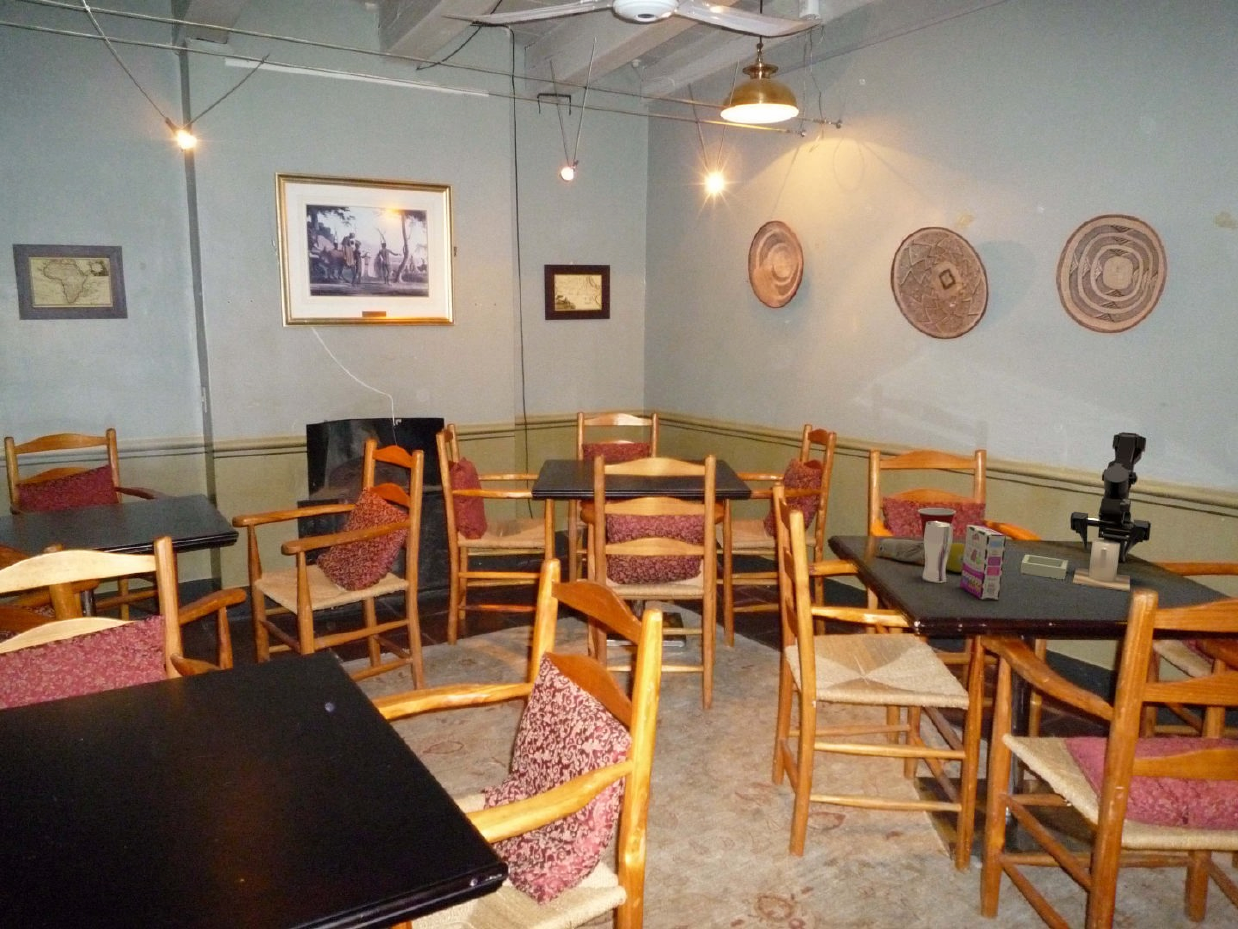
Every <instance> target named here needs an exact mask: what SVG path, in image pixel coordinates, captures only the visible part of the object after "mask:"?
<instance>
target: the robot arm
mask: <svg viewBox="0 0 1238 929" xmlns="http://www.w3.org/2000/svg"><path fill="white" fill-rule="evenodd" d="M1146 446H1147V438H1146V437H1144V436H1143V435H1139V434H1137V433H1136V432H1125V431H1123V432H1118V434H1114V435H1113V440H1112V446H1111V447H1112V449H1113V450H1114V459H1113V460H1112V461H1109V462H1108V465H1107V468H1105V469H1104V470H1103V472H1102V474H1101V481H1102V482H1103V489H1104V493H1103V496H1102V497H1103V498H1101V501H1100V502H1101V503H1100V506H1099V510H1098V514H1097V515H1098V517H1099V518H1098V519H1097V518H1090V517H1089V513H1088V512H1082V511H1073V512H1072V513H1071V514H1070V519H1069V520H1070V530H1071V531H1075V533H1076V534H1079V536H1080V538H1081V541H1082V544H1083V547H1084V548H1083V549H1084V550H1087V548H1088V526H1089V527H1094V528H1098V536H1097V538H1099V539H1102V540H1110V541H1114V542H1118V543H1120V549H1119V557H1118V563H1126V557H1125V556H1127V554H1128V553H1129V552H1130V551H1131V549H1132V548H1134V546H1136V545H1137V544H1138V543H1143V542H1144V541H1146V542H1147V541H1150V537H1151V526H1152V523H1151V521H1149V520H1140V519H1133V521H1132V513H1131V505H1132V500H1131V499H1129V497H1130V491H1131V488H1132V486H1135V485H1136V483H1137V482H1138V478H1139V477H1138V476H1137V472H1134V470H1135V465H1136V464H1137V463H1139V462H1140V460H1142V456H1143V455H1142V454H1143V453H1144V452H1146V448H1147V447H1146Z"/></svg>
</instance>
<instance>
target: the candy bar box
mask: <svg viewBox="0 0 1238 929" xmlns="http://www.w3.org/2000/svg"><path fill="white" fill-rule="evenodd" d="M965 530H966V531H965V539H964V544H965V547H964V557H963V566H962V572H961V577H960V578H961V579H960V587H961V588H962V589H963V590H964V591H966V592H968V593H969V594H971V595H973V596H975V597H976V598H978V599H980V600H983V601H985V600H986V601H999V600H1000V592H1001V586H1002V585H1001V584H1002V574H1003V565H1004V558H1005V548H1006V539H1007V535H1006V534H1004V533H1001V532H999V531H996V530H994V529H992V528H990V527H988V526H985V525H980V524H979V525H975V524H974V525H972V524H971V525H970V524H967V525H966V529H965Z"/></svg>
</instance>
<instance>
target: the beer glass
mask: <svg viewBox="0 0 1238 929" xmlns="http://www.w3.org/2000/svg"><path fill="white" fill-rule="evenodd" d="M953 526H954V525H953V524H952V523H951V524H950V523H946V522H939V521H929V522H926V528H925V533H924V559H925V561H924V569H923V572H922V577H921V579H923V581H926V582H931V583H937V584H940V583H941V584H942V583H946V582H947V569H946V565H947V561H948V558H949V554H950V551H951V546H952V543H953V536H954V535H953V533H954V532H953Z"/></svg>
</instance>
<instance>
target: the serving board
mask: <svg viewBox="0 0 1238 929" xmlns="http://www.w3.org/2000/svg"><path fill="white" fill-rule="evenodd" d="M1074 571H1075V572H1074V575H1073V576H1074V577H1073V579H1072V584H1073V583H1075V584H1074V585H1078V584H1081V585H1080V586H1085V585H1086V586H1085V587H1091V586H1092V587H1091V588H1093V587H1094V588H1097V587H1098V588H1099V589H1104V588H1105V590H1110V589H1117V590H1122V591H1121V592H1123V591H1129V592H1128V593H1130V591H1131V588H1130V587H1131V575H1126V574H1118V573H1116V581H1115V582H1102V581H1097V580H1093V579H1090V578H1089V577H1088V575H1089V569H1087V568H1079V567H1076V569H1075V570H1074Z"/></svg>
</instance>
